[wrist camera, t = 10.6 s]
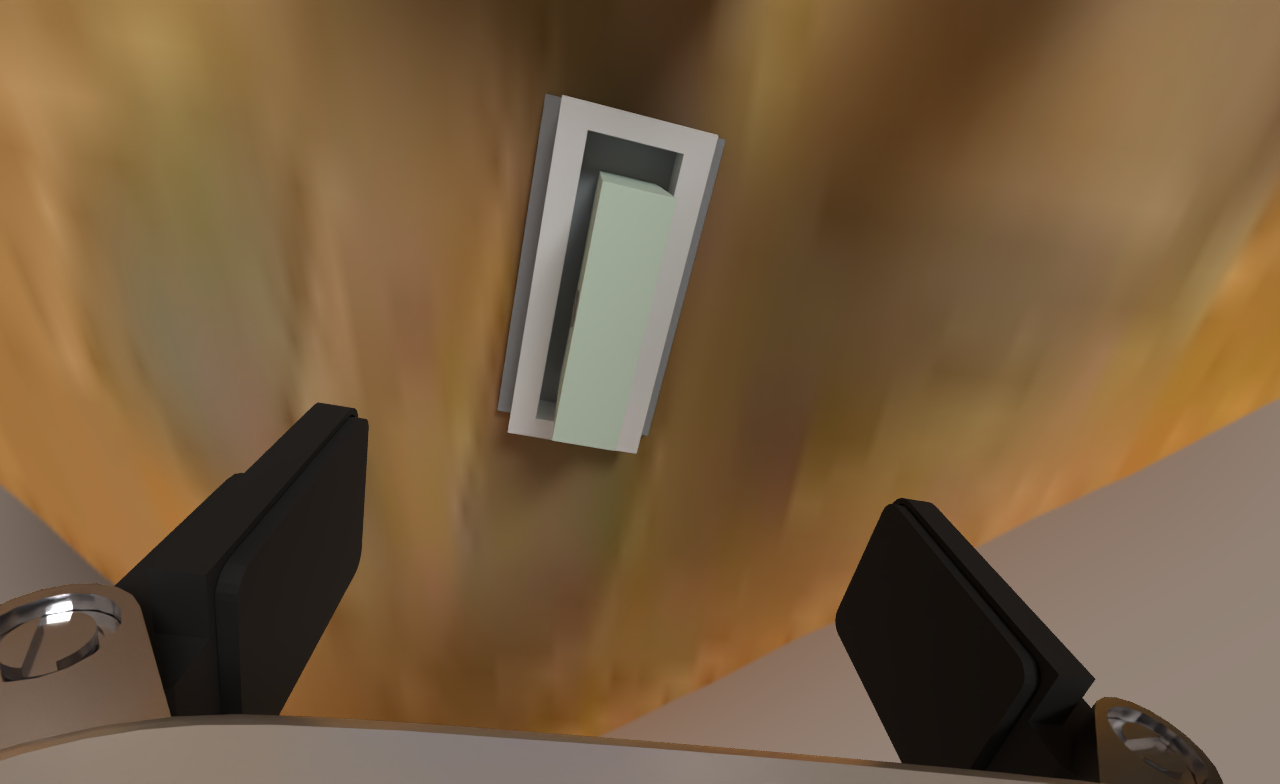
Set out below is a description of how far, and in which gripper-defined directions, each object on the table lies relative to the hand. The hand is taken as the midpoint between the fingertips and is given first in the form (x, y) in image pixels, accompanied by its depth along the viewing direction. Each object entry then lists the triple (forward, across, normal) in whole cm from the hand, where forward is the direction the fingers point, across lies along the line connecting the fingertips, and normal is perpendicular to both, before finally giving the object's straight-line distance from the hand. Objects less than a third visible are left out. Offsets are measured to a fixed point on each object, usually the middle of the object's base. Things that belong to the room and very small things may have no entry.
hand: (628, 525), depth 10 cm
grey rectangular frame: (+20, 0, 0) cm, 20 cm away
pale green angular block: (+19, 0, 0) cm, 19 cm away
